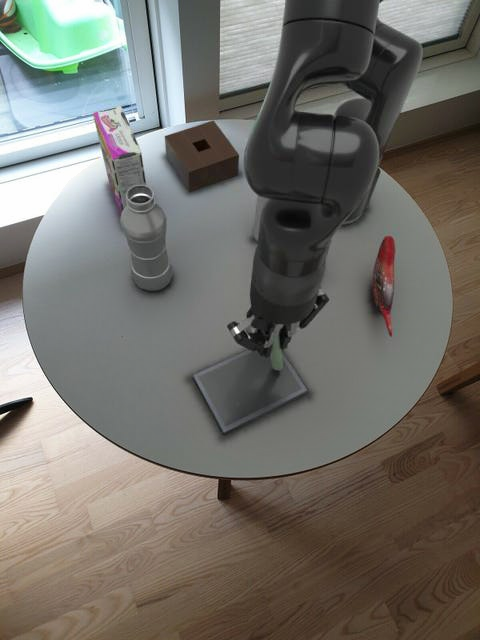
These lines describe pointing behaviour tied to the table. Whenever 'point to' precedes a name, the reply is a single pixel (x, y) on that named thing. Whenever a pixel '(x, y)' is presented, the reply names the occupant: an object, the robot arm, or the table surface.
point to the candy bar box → (119, 153)
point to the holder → (201, 155)
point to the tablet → (247, 388)
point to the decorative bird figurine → (384, 279)
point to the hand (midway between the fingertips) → (272, 347)
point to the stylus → (276, 355)
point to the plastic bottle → (146, 239)
